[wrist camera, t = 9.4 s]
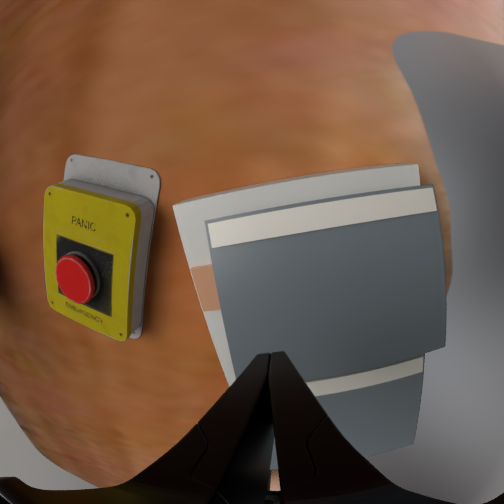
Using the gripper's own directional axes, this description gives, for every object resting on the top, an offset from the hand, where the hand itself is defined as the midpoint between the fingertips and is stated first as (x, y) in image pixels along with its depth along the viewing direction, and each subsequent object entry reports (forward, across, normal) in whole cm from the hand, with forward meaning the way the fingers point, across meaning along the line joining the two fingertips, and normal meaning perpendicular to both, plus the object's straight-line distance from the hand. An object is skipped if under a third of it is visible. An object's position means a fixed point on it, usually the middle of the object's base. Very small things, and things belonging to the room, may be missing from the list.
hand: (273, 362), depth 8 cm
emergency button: (+12, +14, -2) cm, 19 cm away
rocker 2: (+6, -3, +12) cm, 14 cm away
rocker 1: (+6, -3, +1) cm, 7 cm away
